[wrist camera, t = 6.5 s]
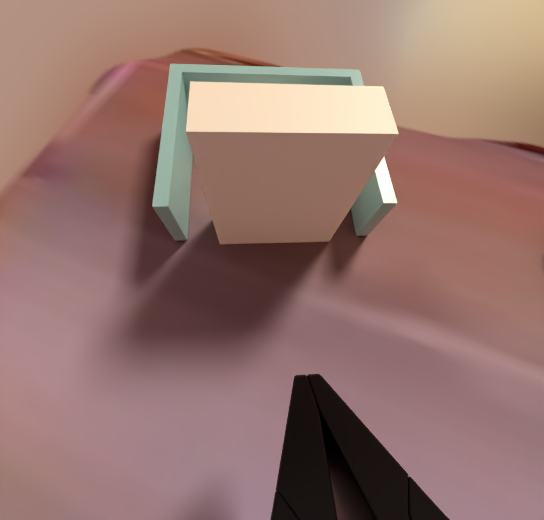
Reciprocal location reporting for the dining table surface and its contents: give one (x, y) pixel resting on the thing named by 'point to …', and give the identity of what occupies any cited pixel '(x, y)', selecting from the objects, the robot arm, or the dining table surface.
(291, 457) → the robot arm
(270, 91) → the bookend
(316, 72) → the box
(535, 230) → the dining table surface
